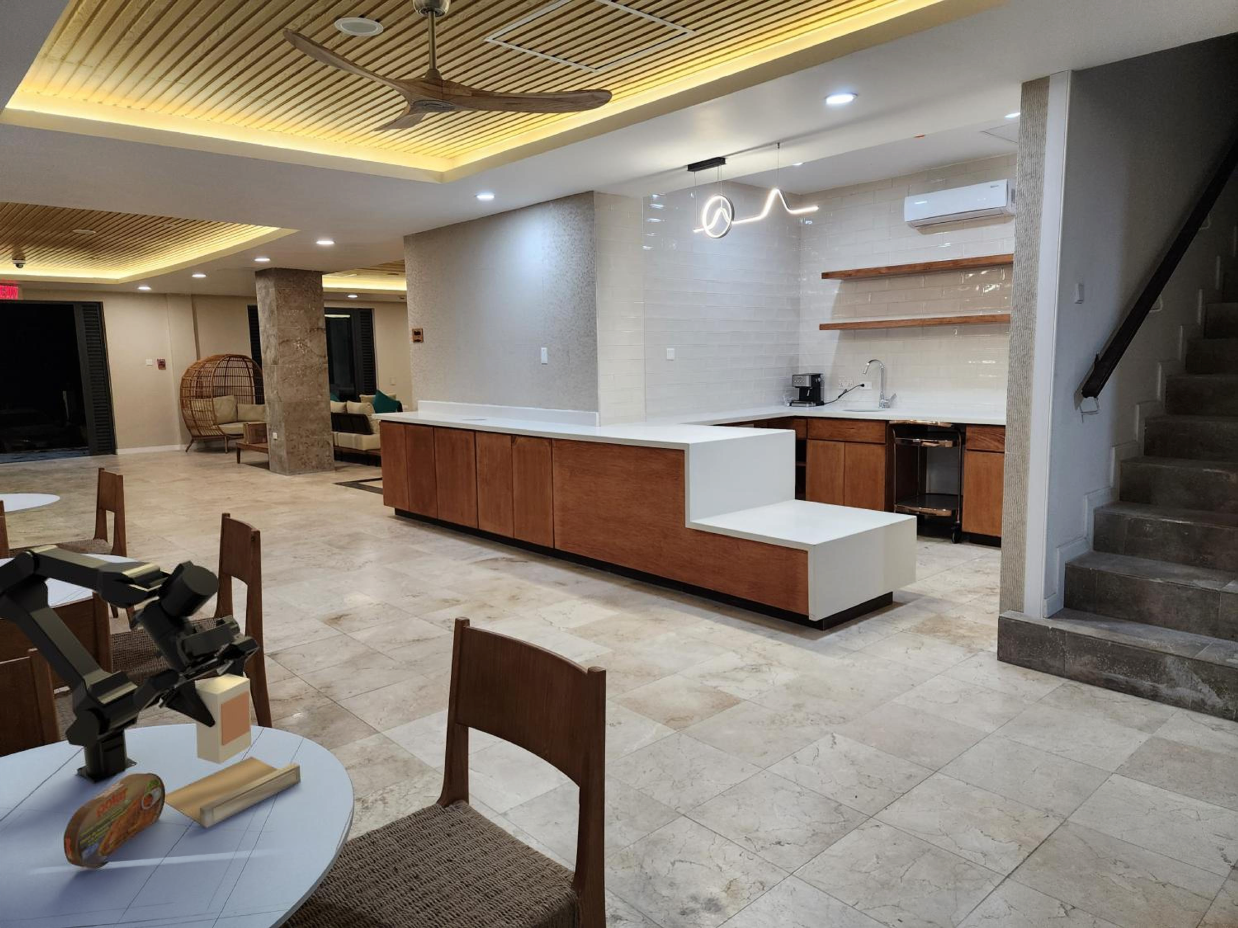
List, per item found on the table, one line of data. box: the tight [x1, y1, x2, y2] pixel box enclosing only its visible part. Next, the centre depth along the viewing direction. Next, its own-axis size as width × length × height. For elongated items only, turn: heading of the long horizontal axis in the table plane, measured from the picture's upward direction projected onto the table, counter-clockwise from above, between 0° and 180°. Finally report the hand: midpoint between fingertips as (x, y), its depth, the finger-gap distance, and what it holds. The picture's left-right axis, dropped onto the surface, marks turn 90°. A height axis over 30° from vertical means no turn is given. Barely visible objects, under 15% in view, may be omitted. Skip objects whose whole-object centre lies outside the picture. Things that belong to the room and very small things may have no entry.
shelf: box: [164, 756, 301, 829], centre depth 123 cm, size 14×15×3 cm
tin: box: [63, 772, 166, 869], centre depth 110 cm, size 15×3×8 cm, turn 168°
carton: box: [195, 673, 252, 765], centre depth 121 cm, size 5×6×11 cm
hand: (230, 716), depth 121 cm, fingers closed on carton, 6 cm apart
